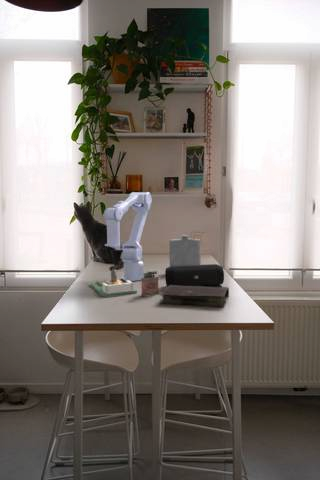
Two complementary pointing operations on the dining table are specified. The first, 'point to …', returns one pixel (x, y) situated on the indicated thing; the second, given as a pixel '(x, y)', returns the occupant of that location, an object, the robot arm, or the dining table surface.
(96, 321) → the dining table surface
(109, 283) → the beige block
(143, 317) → the dining table surface
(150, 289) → the lighter
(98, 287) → the pitch
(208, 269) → the portable speaker
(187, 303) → the diary
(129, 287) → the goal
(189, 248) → the hip flask
